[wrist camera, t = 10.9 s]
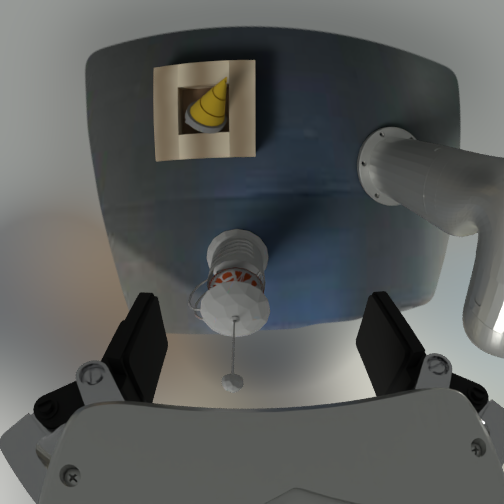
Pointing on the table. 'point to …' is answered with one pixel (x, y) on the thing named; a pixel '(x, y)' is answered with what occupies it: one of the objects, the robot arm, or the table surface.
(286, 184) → the table surface
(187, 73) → the socket block
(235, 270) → the french press
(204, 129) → the yellow stepped cone
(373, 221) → the table surface
